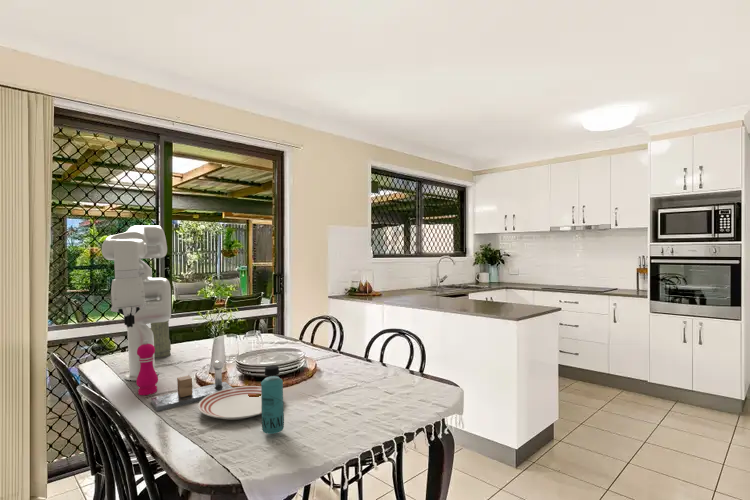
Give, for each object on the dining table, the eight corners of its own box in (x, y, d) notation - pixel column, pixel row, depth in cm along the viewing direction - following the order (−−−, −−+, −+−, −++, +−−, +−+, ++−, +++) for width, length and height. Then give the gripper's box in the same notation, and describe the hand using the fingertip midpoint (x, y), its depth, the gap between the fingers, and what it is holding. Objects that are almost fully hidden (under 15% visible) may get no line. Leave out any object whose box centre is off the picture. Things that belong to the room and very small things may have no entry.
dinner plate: (283, 390, 162) (282, 381, 161) (283, 421, 135) (283, 410, 135) (205, 397, 156) (205, 388, 156) (190, 431, 129) (189, 420, 129)
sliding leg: (177, 394, 154) (177, 377, 154) (189, 391, 157) (188, 375, 156) (180, 397, 151) (180, 380, 151) (192, 394, 154) (191, 378, 153)
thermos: (177, 353, 216) (174, 284, 214) (157, 359, 205) (154, 286, 204) (164, 351, 219) (161, 283, 218) (144, 358, 208) (141, 286, 207)
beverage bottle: (263, 429, 128) (261, 363, 128) (286, 428, 129) (284, 362, 128) (259, 440, 122) (257, 370, 121) (283, 438, 123) (281, 369, 122)
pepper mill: (149, 396, 158) (147, 342, 157) (132, 395, 159) (129, 342, 158) (162, 389, 165) (160, 337, 164) (146, 388, 166) (144, 337, 165)
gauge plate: (151, 402, 152) (149, 370, 151) (225, 385, 168) (224, 356, 167) (157, 411, 144) (155, 377, 143) (234, 392, 160) (233, 361, 159)
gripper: (148, 272, 158) (150, 322, 159) (101, 275, 149) (103, 328, 150) (153, 273, 152) (155, 325, 153) (103, 277, 143) (106, 331, 144)
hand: (129, 326), depth 152 cm, fingers closed
